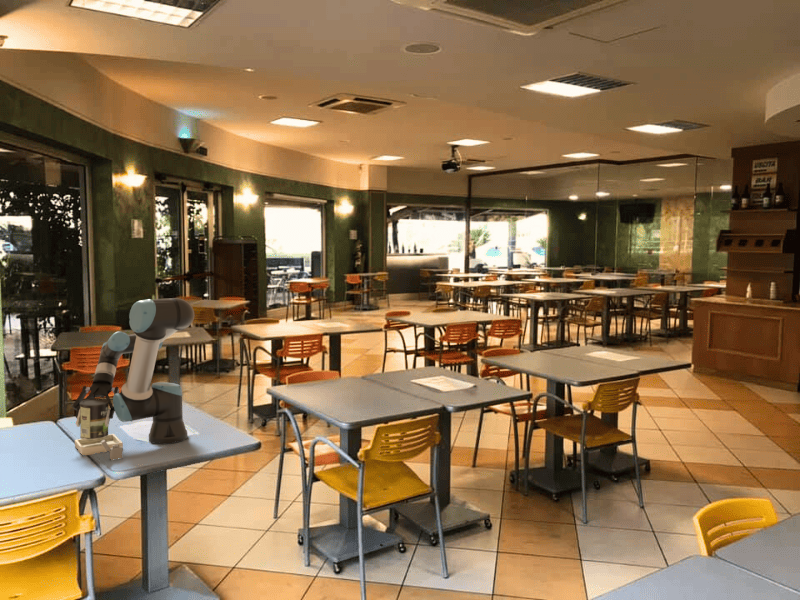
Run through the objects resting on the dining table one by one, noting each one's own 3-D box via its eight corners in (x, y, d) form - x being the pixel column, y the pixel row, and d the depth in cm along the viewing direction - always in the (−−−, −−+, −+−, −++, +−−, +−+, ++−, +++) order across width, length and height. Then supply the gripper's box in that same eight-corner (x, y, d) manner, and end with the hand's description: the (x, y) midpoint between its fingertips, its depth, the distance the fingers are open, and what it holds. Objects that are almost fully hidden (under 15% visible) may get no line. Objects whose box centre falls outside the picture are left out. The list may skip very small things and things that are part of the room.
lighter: (121, 457, 253) (120, 436, 252) (122, 458, 252) (121, 437, 251) (101, 461, 249) (100, 440, 248) (102, 462, 247) (101, 441, 247)
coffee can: (112, 432, 271) (112, 398, 269) (102, 441, 261) (102, 405, 259) (86, 431, 271) (86, 397, 269) (75, 440, 260) (75, 404, 259)
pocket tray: (122, 449, 263) (122, 442, 263) (82, 455, 254) (82, 449, 254) (113, 440, 275) (113, 433, 275) (74, 446, 266) (74, 439, 266)
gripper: (134, 381, 280) (124, 430, 267) (77, 380, 277) (64, 429, 264) (131, 372, 274) (120, 421, 261) (73, 371, 271) (58, 420, 258)
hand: (92, 425), depth 262 cm, fingers closed on coffee can, 10 cm apart
